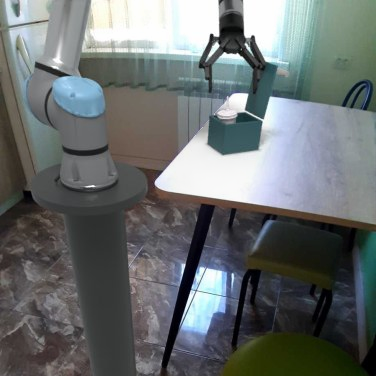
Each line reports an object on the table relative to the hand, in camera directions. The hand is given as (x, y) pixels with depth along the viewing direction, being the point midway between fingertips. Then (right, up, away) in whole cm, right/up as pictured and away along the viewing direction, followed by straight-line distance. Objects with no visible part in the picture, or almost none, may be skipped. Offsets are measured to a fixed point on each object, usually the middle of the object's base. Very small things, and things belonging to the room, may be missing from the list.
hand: (232, 90), depth 123 cm
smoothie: (0, -10, +13) cm, 17 cm away
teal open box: (+2, -10, +14) cm, 18 cm away
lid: (+9, +4, +6) cm, 11 cm away
